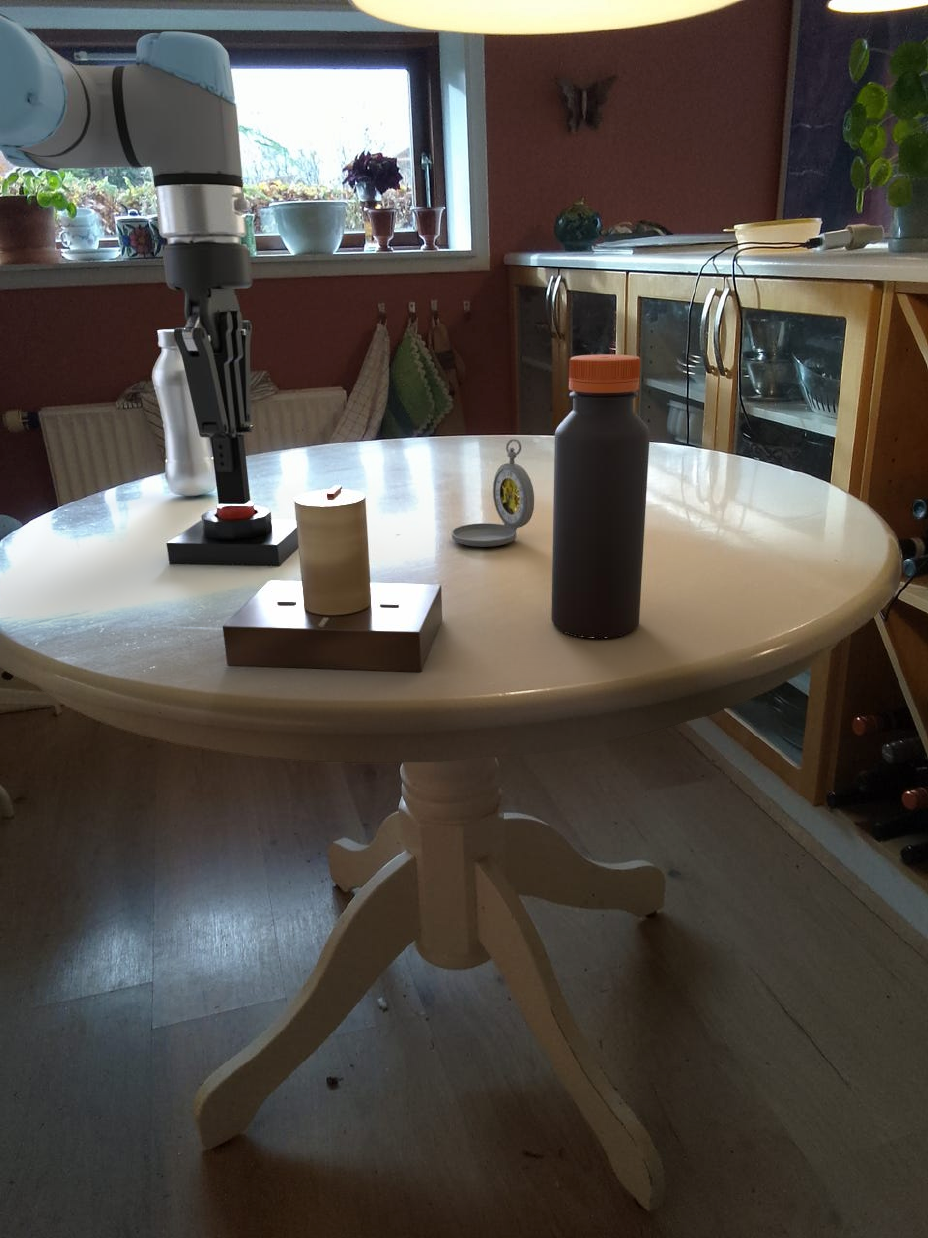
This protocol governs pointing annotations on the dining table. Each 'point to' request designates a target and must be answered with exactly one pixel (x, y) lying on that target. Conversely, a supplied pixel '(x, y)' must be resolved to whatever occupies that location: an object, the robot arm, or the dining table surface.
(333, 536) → the wood knob
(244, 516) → the red button
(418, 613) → the knob panel
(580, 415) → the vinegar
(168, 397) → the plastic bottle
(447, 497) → the dining table surface
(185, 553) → the button box
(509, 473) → the pocket watch
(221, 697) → the dining table surface
